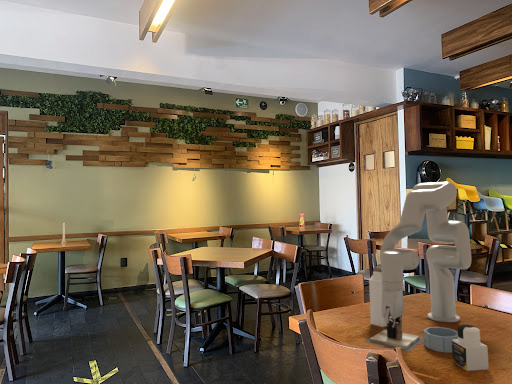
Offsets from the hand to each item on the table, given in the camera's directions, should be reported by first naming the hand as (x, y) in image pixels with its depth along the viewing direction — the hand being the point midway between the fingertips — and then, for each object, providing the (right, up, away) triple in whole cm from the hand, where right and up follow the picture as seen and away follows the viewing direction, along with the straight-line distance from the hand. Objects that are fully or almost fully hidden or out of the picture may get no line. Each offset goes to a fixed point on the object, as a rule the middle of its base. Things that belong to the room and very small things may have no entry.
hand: (394, 335), depth 139 cm
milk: (+1, -3, +19) cm, 19 cm away
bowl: (+14, -2, -7) cm, 16 cm away
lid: (0, -2, 0) cm, 2 cm away
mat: (0, -2, 0) cm, 2 cm away
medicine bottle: (+15, -1, -22) cm, 27 cm away
